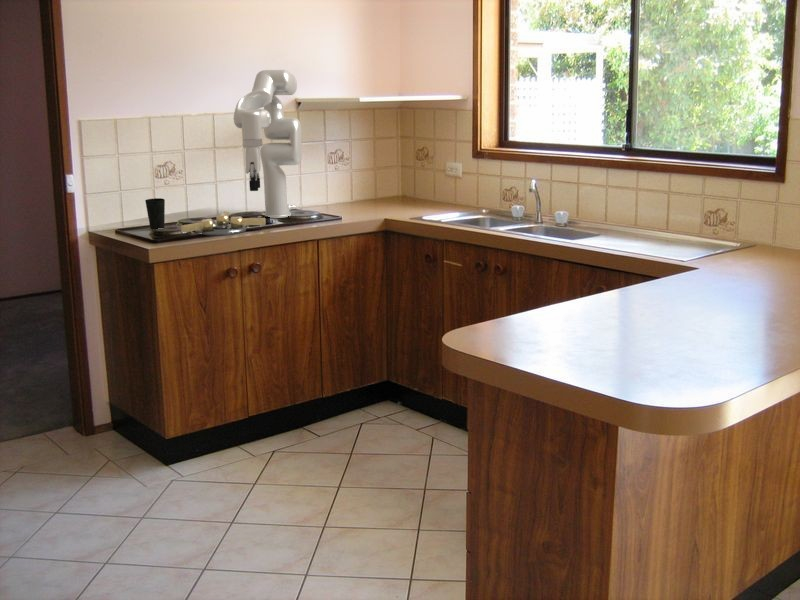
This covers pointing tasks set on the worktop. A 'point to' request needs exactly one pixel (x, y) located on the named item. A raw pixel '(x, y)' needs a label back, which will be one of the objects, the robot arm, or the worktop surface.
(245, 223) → the brass lever handle
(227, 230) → the tribrach plate
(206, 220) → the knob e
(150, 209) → the cup
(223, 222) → the knob
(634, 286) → the worktop surface
